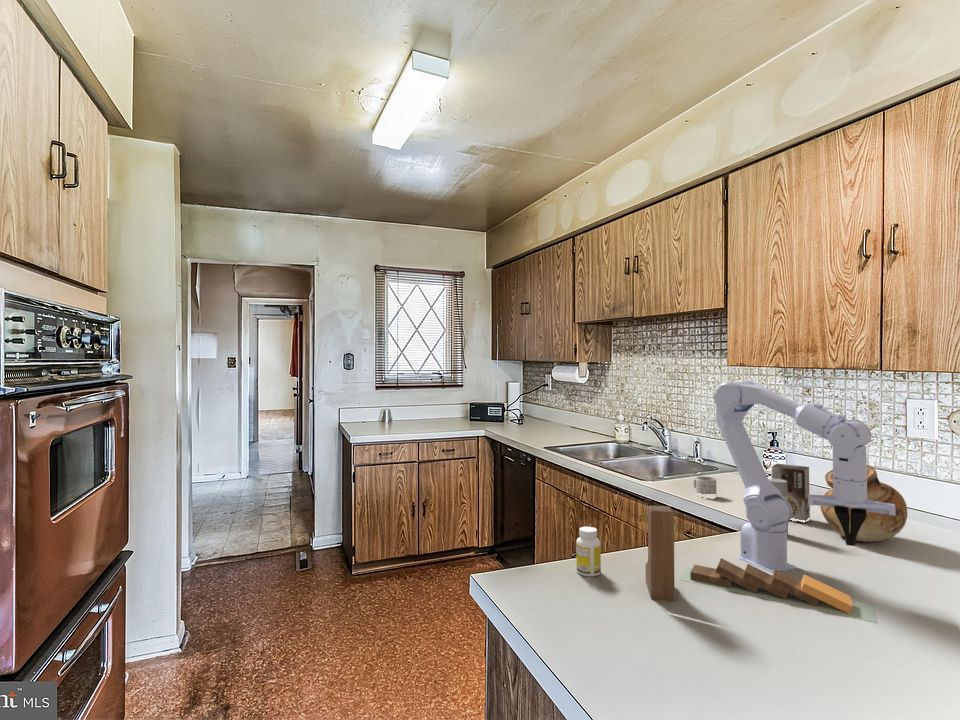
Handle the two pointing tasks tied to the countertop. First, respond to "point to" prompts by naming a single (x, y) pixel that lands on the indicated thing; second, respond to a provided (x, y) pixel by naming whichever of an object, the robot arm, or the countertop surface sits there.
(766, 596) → the mat
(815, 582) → the orange domino
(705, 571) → the domino
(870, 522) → the clay pot
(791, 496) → the coffee box
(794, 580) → the domino
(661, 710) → the countertop surface
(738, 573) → the domino
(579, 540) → the supplement bottle
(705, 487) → the mug
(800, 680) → the countertop surface
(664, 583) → the wooden block
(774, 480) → the container
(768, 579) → the domino
